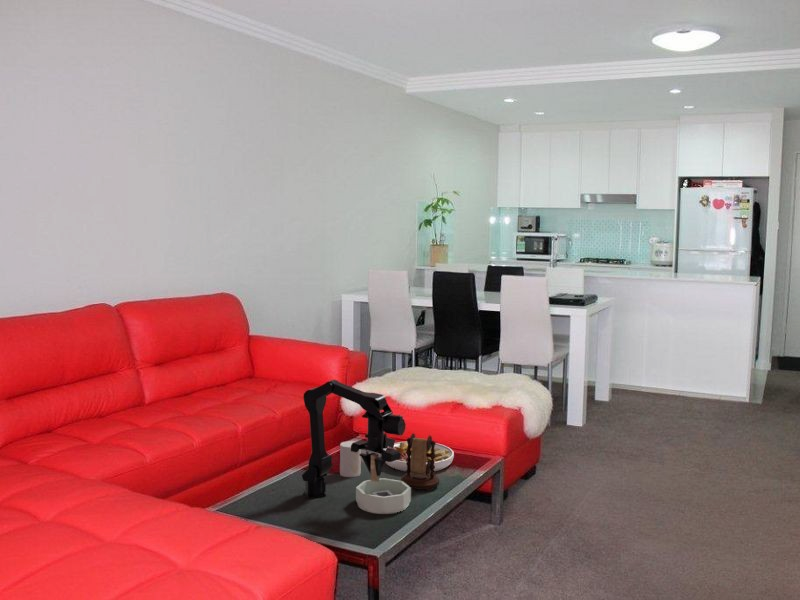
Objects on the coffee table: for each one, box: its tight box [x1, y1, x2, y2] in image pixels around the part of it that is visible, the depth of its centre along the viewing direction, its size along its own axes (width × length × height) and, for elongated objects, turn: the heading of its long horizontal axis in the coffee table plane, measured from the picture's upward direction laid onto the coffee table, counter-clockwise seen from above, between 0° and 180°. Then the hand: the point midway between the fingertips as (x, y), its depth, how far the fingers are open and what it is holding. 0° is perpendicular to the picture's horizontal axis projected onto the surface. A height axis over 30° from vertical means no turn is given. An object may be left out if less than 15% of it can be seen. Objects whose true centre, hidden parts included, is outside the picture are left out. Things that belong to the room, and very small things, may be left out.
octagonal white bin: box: [355, 477, 412, 515], centre depth 268 cm, size 18×18×6 cm
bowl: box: [383, 440, 455, 473], centre depth 314 cm, size 30×30×8 cm
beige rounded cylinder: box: [370, 454, 380, 482], centre depth 262 cm, size 3×3×9 cm
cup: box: [339, 440, 362, 478], centre depth 298 cm, size 8×8×12 cm
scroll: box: [400, 432, 440, 492], centre depth 286 cm, size 15×15×20 cm
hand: (374, 474), depth 263 cm, fingers closed on beige rounded cylinder, 3 cm apart
